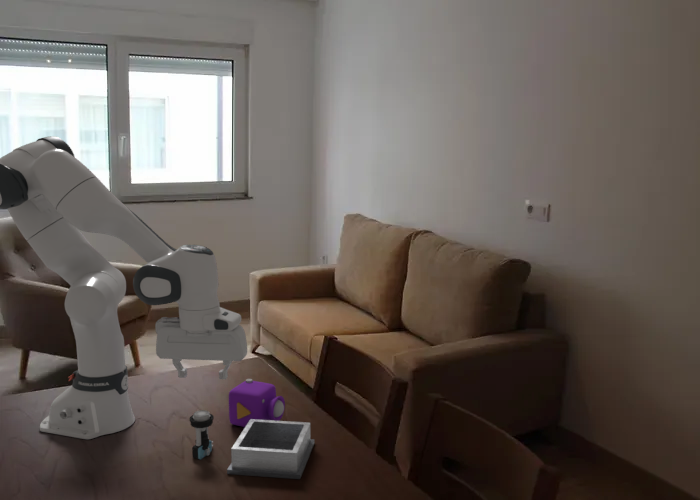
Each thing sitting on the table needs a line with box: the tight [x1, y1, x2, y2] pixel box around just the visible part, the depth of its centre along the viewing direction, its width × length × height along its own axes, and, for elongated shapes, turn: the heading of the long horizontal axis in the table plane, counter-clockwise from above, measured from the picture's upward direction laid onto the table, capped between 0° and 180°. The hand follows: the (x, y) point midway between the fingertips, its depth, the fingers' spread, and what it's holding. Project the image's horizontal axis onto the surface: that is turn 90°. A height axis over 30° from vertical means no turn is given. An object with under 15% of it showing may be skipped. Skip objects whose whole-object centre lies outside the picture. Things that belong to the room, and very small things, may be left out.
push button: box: [189, 409, 215, 460], centre depth 158 cm, size 7×5×10 cm
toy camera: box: [228, 378, 286, 428], centre depth 174 cm, size 11×14×10 cm
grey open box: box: [226, 419, 315, 480], centre depth 156 cm, size 16×17×6 cm
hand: (203, 377), depth 155 cm, fingers open, 8 cm apart
